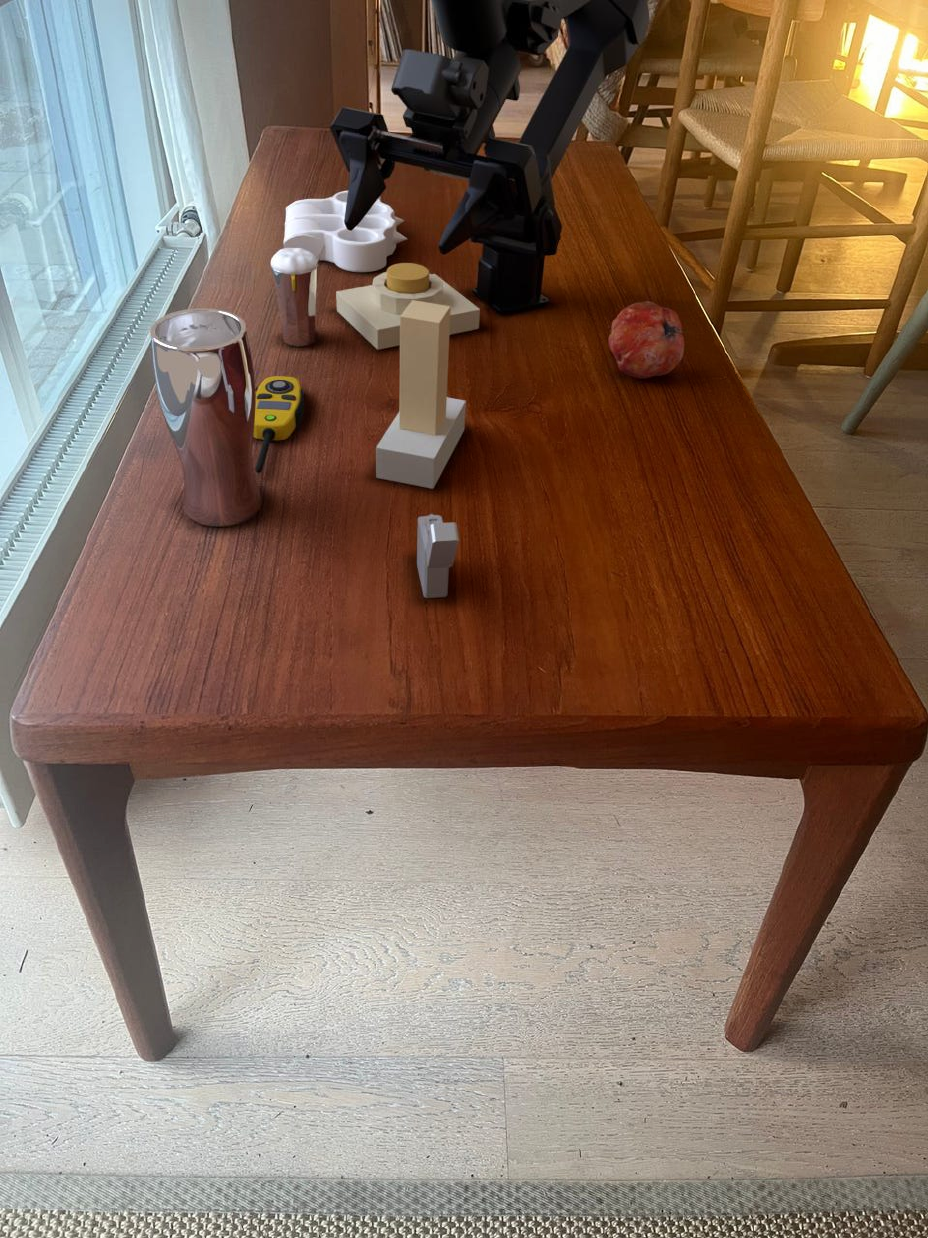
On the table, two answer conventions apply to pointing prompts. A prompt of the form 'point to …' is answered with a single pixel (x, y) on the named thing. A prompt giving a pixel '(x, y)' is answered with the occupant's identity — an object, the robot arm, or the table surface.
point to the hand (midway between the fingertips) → (393, 238)
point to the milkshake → (296, 294)
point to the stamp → (422, 402)
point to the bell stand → (400, 309)
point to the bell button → (407, 278)
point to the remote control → (277, 411)
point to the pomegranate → (646, 340)
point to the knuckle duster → (342, 233)
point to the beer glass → (209, 410)
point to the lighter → (435, 554)
